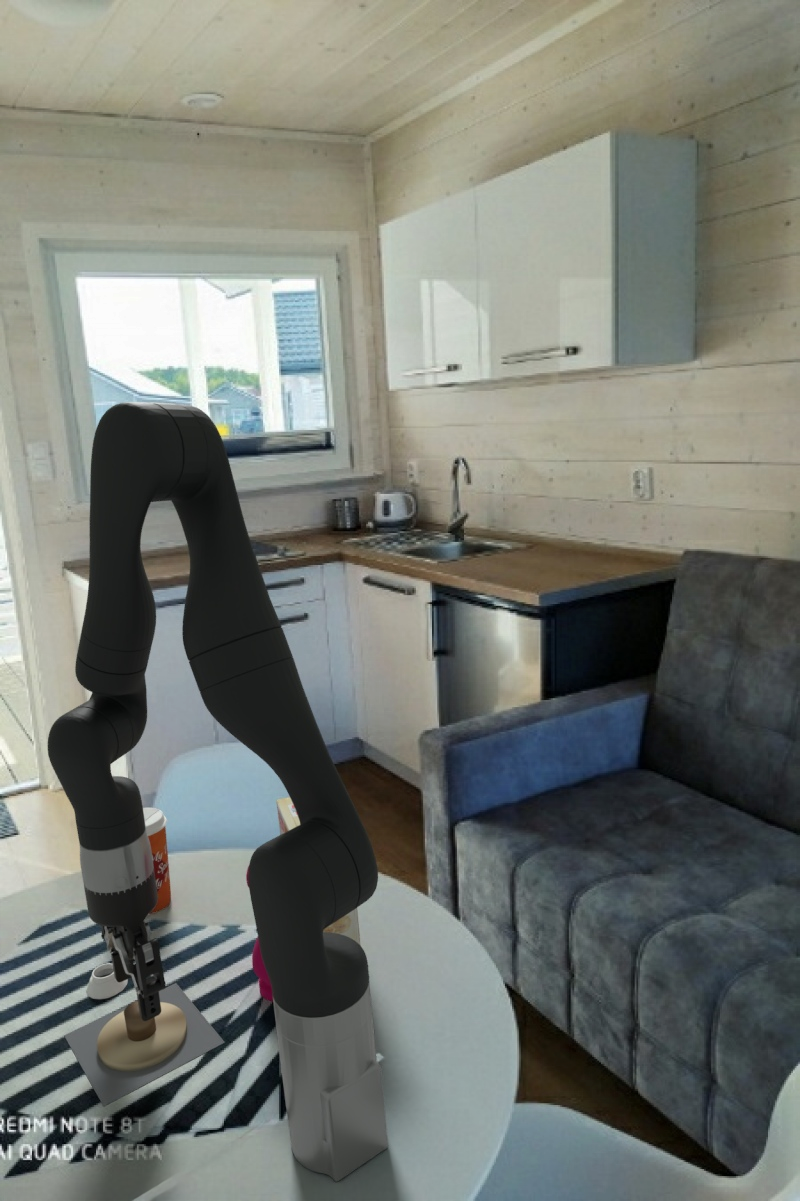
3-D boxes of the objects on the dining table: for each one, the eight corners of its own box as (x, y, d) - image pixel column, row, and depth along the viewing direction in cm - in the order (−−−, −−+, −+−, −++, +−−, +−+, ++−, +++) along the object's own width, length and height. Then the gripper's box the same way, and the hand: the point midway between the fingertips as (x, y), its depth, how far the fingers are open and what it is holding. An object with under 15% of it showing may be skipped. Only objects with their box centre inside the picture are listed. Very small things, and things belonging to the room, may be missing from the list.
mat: (225, 1046, 101) (224, 1042, 101) (104, 1110, 93) (103, 1106, 93) (176, 986, 112) (176, 982, 112) (64, 1039, 104) (64, 1035, 104)
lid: (201, 1040, 101) (196, 1010, 101) (116, 1085, 96) (110, 1054, 95) (166, 997, 109) (162, 969, 108) (86, 1036, 104) (80, 1007, 103)
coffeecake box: (365, 978, 111) (353, 837, 107) (310, 993, 109) (295, 850, 105) (338, 915, 125) (326, 788, 121) (288, 927, 123) (274, 798, 119)
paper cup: (170, 917, 128) (157, 828, 124) (118, 920, 128) (103, 832, 125) (184, 887, 135) (172, 803, 132) (134, 890, 136) (121, 806, 132)
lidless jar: (79, 1002, 111) (115, 1005, 110) (75, 981, 110) (111, 985, 109) (100, 976, 116) (135, 979, 115) (97, 956, 115) (132, 959, 114)
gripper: (175, 885, 94) (193, 1015, 98) (129, 835, 106) (147, 953, 110) (105, 913, 90) (127, 1047, 94) (65, 857, 102) (86, 979, 106)
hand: (137, 996), depth 102 cm, fingers open, 8 cm apart
